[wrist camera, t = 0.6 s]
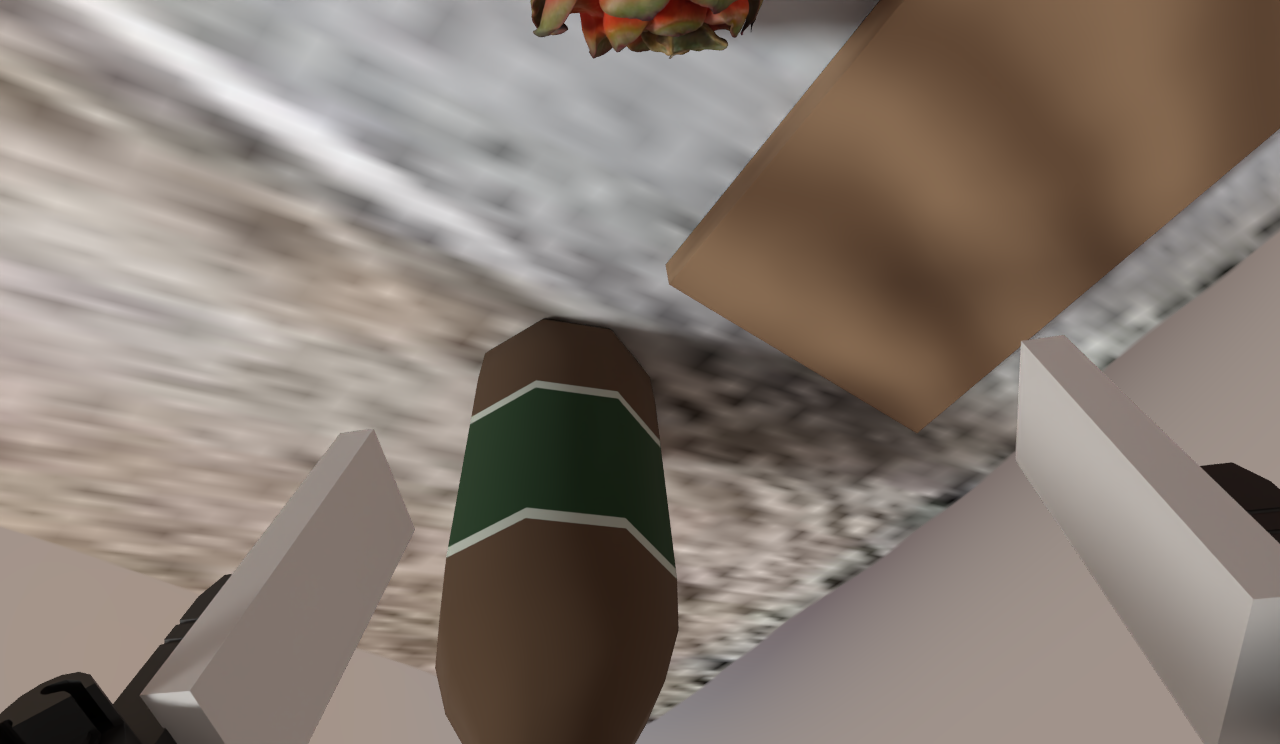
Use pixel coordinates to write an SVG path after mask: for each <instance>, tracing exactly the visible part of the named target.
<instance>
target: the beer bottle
mask: <svg viewBox="0 0 1280 744" xmlns="http://www.w3.org/2000/svg"><path fill="white" fill-rule="evenodd" d="M677 633H678V597H677V575H676V567H675V559H674V551H673V543H672V535H671V527H670V519H669V511H668V503H667V495H666V486H665V478H664V470H663V462H662V454H661V446H660V438H659V430H658V422H657V414H656V406H655V400H654V395H653V390H652V386H651V381H650V377H649V376H648V374H647V373H646V372H645V371H644V369H643V368H642V367H641V366H640V365H639V363H638V362H637V361H636V360H635V358H634V357H633V356H632V355H631V353H630V352H629V351H628V350H627V348H626V347H625V346H624V345H623V344H622V342H621V341H620V340H619V339H618V337H617V336H616V335H615V334H614V332H613V331H612V330H610V329H607V328H601V327H594V326H587V325H581V324H574V323H568V322H561V321H555V320H548V319H542V320H540V321H539V322H537V323H535V324H534V325H532V326H530V327H529V328H527V329H525V330H524V331H522V332H520V333H518V334H517V335H515V336H513V337H512V338H510V339H508V340H507V341H505V342H503V343H502V344H500V345H498V346H496V347H495V348H493V349H491V350H490V351H488V352H487V353H485V356H484V360H483V363H482V367H481V371H480V374H479V378H478V383H477V389H476V394H475V400H474V406H473V411H472V417H471V422H470V428H469V434H468V439H467V445H466V450H465V456H464V462H463V467H462V473H461V478H460V484H459V489H458V495H457V501H456V506H455V512H454V517H453V523H452V529H451V534H450V540H449V545H448V551H447V557H446V565H445V574H444V583H443V592H442V601H441V610H440V620H439V632H438V643H437V654H436V666H435V669H436V673H437V678H438V682H439V687H440V691H441V696H442V701H443V705H444V709H445V714H446V716H447V718H448V720H449V721H450V723H451V725H452V727H453V728H454V730H455V732H456V734H457V736H458V737H459V739H460V741H461V743H462V744H635V743H636V741H637V739H638V738H639V736H640V734H641V732H642V731H643V729H644V727H645V725H646V723H647V721H648V719H649V716H650V714H651V712H652V709H653V707H654V705H655V703H656V700H657V698H658V696H659V693H660V691H661V689H662V687H663V684H664V682H665V679H666V675H667V671H668V668H669V664H670V660H671V656H672V652H673V649H674V645H675V641H676V637H677Z"/></svg>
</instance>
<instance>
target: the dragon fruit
mask: <svg viewBox="0 0 1280 744" xmlns="http://www.w3.org/2000/svg"><path fill="white" fill-rule="evenodd" d="M762 2H763V0H531V8H532V21H533V23H534V24H535V26H536V28H537V29H536V30H535V31H533V33H534V34H535V35H537V36H538V37H545V36H549V35H558V34H562V33H564V32H565V31H566V30H568V27H567V26H566V25H565V24H564V22H565V21H566V19H567V17H568V16H569V14H571V13H580V17H581V24H582V31H583V33H584V37H585V40H586V43H587V45H588V47H589V49H590V51H589V53H590V54H591V56H592V57H593V58H596V57H599V56H601V55H603V54H605V53H607V52H608V51H609V50H611V49H612V47H613V48H614V50H615V51H616V52H620V51H621V50H622V49H624V48H625V47H626V46H627V47H628V48H629V49H630V50H631V51H635V52H642V51H649V50H651V51H654V52H663V53H665V54H666V55H668V56H670V58H672V57H673V56H674V55H676V54H679V55H683V54H685V53H687V52H689V51H690V50H694V51H701V50H704V49H712V50H724V49H726V48H727V46H728V43H727V41H726V40H725V39H723V38H720V37H719V36H717V35H716V33H715V32H714V31H715V30H718V29H726V30H729V31H730V33H731V35H732V37H734V38H736V37H737V35H738V33H739V32H740V30H741V28H742V26H743V24H744V22H745V19H746V22H745V24H744V26H743V29H742V31H741V35H743V31H744V30H745V29H746V28H747V27H748V26H749V25H750V24H751V31H752V26H753V23H754V22H755V20H756V16H757V14H758V11H759V9H760V7H761V5H762ZM670 58H669V59H670Z"/></svg>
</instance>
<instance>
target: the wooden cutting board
mask: <svg viewBox="0 0 1280 744" xmlns="http://www.w3.org/2000/svg"><path fill="white" fill-rule="evenodd" d="M1278 129H1280V0H880V1H879V2H878V4H877V5H876V6H875V7H874V9H873V10H872V11H871V12H870V13H869V15H868V16H867V17H866V18H865V20H864V21H863V22H862V23H861V25H860V26H859V27H858V28H857V30H856V31H855V32H854V33H853V34H852V36H851V37H850V38H849V39H848V41H847V42H846V43H845V44H844V46H843V47H842V48H841V49H840V50H839V52H838V53H837V54H836V55H835V57H834V58H833V59H832V60H831V62H830V63H829V64H828V65H827V67H826V68H825V69H824V70H823V71H822V73H821V74H820V75H819V76H818V78H817V79H816V80H815V81H814V83H813V84H812V85H811V86H810V87H809V89H808V90H807V91H806V92H805V94H804V95H803V96H802V97H801V99H800V100H799V101H798V102H797V104H796V105H795V106H794V107H793V108H792V110H791V111H790V112H789V113H788V115H787V116H786V117H785V118H784V120H783V121H782V122H781V123H780V124H779V126H778V127H777V128H776V129H775V131H774V132H773V133H772V134H771V136H770V137H769V138H768V139H767V141H766V142H765V143H764V144H763V145H762V147H761V148H760V149H759V150H758V152H757V153H756V154H755V155H754V157H753V158H752V159H751V160H750V161H749V163H748V164H747V165H746V166H745V168H744V169H743V170H742V171H741V173H740V174H739V175H738V176H737V178H736V179H735V180H734V181H733V182H732V184H731V185H730V186H729V187H728V189H727V190H726V191H725V192H724V194H723V195H722V196H721V197H720V199H719V200H718V201H717V202H716V203H715V205H714V206H713V207H712V208H711V210H710V211H709V212H708V213H707V215H706V216H705V217H704V218H703V219H702V221H701V222H700V223H699V224H698V226H697V227H696V228H695V229H694V231H693V232H692V233H691V234H690V236H689V237H688V238H687V239H686V240H685V242H684V243H683V244H682V245H681V247H680V248H679V249H678V250H677V252H676V253H675V254H674V255H673V256H672V258H671V259H670V260H669V261H668V263H667V264H666V270H667V275H668V280H669V285H671V286H673V287H674V288H676V289H678V290H679V291H681V292H683V293H684V294H686V295H688V296H689V297H691V298H693V299H694V300H696V301H698V302H699V303H701V304H703V305H704V306H706V307H708V308H709V309H711V310H713V311H714V312H716V313H718V314H719V315H721V316H723V317H724V318H726V319H728V320H729V321H731V322H733V323H734V324H736V325H738V326H739V327H741V328H743V329H744V330H746V331H748V332H749V333H751V334H753V335H754V336H756V337H758V338H759V339H761V340H763V341H764V342H766V343H768V344H769V345H771V346H773V347H774V348H776V349H778V350H779V351H781V352H783V353H784V354H786V355H788V356H789V357H791V358H792V359H794V360H796V361H797V362H799V363H801V364H802V365H804V366H806V367H807V368H809V369H811V370H812V371H814V372H816V373H817V374H819V375H821V376H822V377H824V378H826V379H827V380H829V381H831V382H832V383H834V384H836V385H837V386H839V387H841V388H842V389H844V390H846V391H847V392H849V393H851V394H852V395H854V396H856V397H857V398H859V399H861V400H862V401H864V402H866V403H867V404H869V405H871V406H872V407H874V408H876V409H877V410H879V411H881V412H882V413H884V414H886V415H887V416H889V417H891V418H892V419H894V420H896V421H897V422H899V423H901V424H902V425H904V426H906V427H907V428H909V429H911V430H912V431H914V432H916V433H918V432H919V431H920V430H922V429H923V428H924V427H925V426H926V425H927V424H929V423H930V422H931V421H932V420H933V419H935V418H936V417H937V416H938V415H939V414H941V413H942V412H943V411H944V410H945V409H946V408H948V407H949V406H950V405H951V404H952V403H954V402H955V401H956V400H957V399H958V398H960V397H961V396H962V395H963V394H964V393H966V392H967V391H968V390H969V389H970V388H971V387H973V386H974V385H975V384H976V383H977V382H979V381H980V380H981V379H982V378H983V377H985V376H986V375H987V374H988V373H989V372H991V371H992V370H993V369H994V368H995V367H996V366H998V365H999V364H1000V363H1001V362H1002V361H1004V360H1005V359H1006V358H1007V357H1008V356H1010V355H1011V354H1012V353H1013V352H1014V351H1015V350H1017V349H1018V348H1019V347H1020V346H1021V341H1024V340H1029V339H1030V338H1031V337H1032V336H1033V335H1035V334H1036V333H1037V332H1038V331H1039V330H1040V329H1042V328H1043V327H1044V326H1045V325H1046V324H1048V323H1049V322H1050V321H1051V320H1052V319H1054V318H1055V317H1056V316H1057V315H1058V314H1060V313H1061V312H1062V311H1063V310H1064V309H1065V308H1067V307H1068V306H1069V305H1070V304H1071V303H1073V302H1074V301H1075V300H1076V299H1077V298H1079V297H1080V296H1081V295H1082V294H1083V293H1084V292H1086V291H1087V290H1088V289H1089V288H1090V287H1092V286H1093V285H1094V284H1095V283H1096V282H1098V281H1099V280H1100V279H1101V278H1102V277H1104V276H1105V275H1106V274H1107V273H1108V272H1109V271H1111V270H1112V269H1113V268H1114V267H1115V266H1117V265H1118V264H1119V263H1120V262H1121V261H1123V260H1124V259H1125V258H1126V257H1127V256H1128V255H1130V254H1131V253H1132V252H1133V251H1134V250H1136V249H1137V248H1138V247H1139V246H1140V245H1142V244H1143V243H1144V242H1145V241H1146V240H1148V239H1149V238H1150V237H1151V236H1152V235H1153V234H1155V233H1156V232H1157V231H1158V230H1159V229H1161V228H1162V227H1163V226H1164V225H1165V224H1167V223H1168V222H1169V221H1170V220H1171V219H1173V218H1174V217H1175V216H1176V215H1177V214H1178V213H1180V212H1181V211H1182V210H1183V209H1184V208H1186V207H1187V206H1188V205H1189V204H1190V203H1192V202H1193V201H1194V200H1195V199H1196V198H1197V197H1199V196H1200V195H1201V194H1202V193H1203V192H1205V191H1206V190H1207V189H1208V188H1209V187H1211V186H1212V185H1213V184H1214V183H1215V182H1217V181H1218V180H1219V179H1220V178H1221V177H1222V176H1224V175H1225V174H1226V173H1227V172H1228V171H1230V170H1231V169H1232V168H1233V167H1234V166H1236V165H1237V164H1238V163H1239V162H1240V161H1241V160H1243V159H1244V158H1245V157H1246V156H1247V155H1249V154H1250V153H1251V152H1252V151H1253V150H1255V149H1256V148H1257V147H1258V146H1259V145H1261V144H1262V143H1263V142H1264V141H1265V140H1266V139H1268V138H1269V137H1270V136H1271V135H1272V134H1274V133H1275V132H1276V131H1277V130H1278Z"/></svg>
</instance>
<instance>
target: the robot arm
mask: <svg viewBox="0 0 1280 744" xmlns="http://www.w3.org/2000/svg"><path fill="white" fill-rule="evenodd" d="M1015 460H1016V462H1017V464H1018V465H1019V467H1020V468H1021V470H1022V471H1023V473H1024V474H1025V476H1026V477H1027V479H1028V480H1029V482H1030V483H1031V485H1032V486H1033V488H1034V489H1035V491H1036V492H1037V494H1038V495H1039V497H1040V498H1041V500H1042V501H1043V503H1044V504H1045V506H1046V507H1047V509H1048V510H1049V512H1050V513H1051V515H1052V516H1053V518H1054V519H1055V521H1056V522H1057V524H1058V525H1059V527H1060V528H1061V530H1062V532H1063V533H1064V535H1065V536H1066V538H1067V539H1068V540H1069V542H1070V543H1071V545H1072V547H1073V548H1074V550H1075V551H1076V552H1077V554H1078V555H1079V557H1080V559H1081V560H1082V562H1083V563H1084V565H1085V566H1086V567H1087V569H1088V570H1089V572H1090V573H1091V575H1092V577H1093V578H1094V580H1095V581H1096V583H1097V584H1098V586H1099V587H1100V589H1101V590H1102V592H1103V593H1104V595H1105V596H1106V597H1107V599H1108V601H1109V602H1110V603H1111V605H1112V607H1113V608H1114V610H1115V611H1116V613H1117V614H1118V616H1119V617H1120V619H1121V620H1122V621H1123V623H1124V625H1125V626H1126V628H1127V629H1128V631H1129V632H1130V634H1131V635H1132V637H1133V638H1134V640H1135V641H1136V643H1137V644H1138V645H1139V647H1140V649H1141V650H1142V652H1143V653H1144V655H1145V656H1146V658H1147V659H1148V661H1149V662H1150V664H1151V665H1152V667H1153V668H1154V670H1155V671H1156V673H1157V674H1158V676H1159V677H1160V679H1161V680H1162V682H1163V683H1164V685H1165V686H1166V688H1167V689H1168V691H1169V692H1170V694H1171V695H1172V697H1173V698H1174V700H1175V701H1176V703H1177V704H1178V706H1179V707H1180V709H1181V710H1182V712H1183V713H1184V715H1185V716H1186V718H1187V719H1188V721H1189V722H1190V724H1191V725H1192V727H1193V728H1194V730H1195V731H1196V733H1197V734H1198V736H1199V737H1200V739H1201V740H1202V742H1203V743H1204V744H1280V489H1279V488H1277V486H1275V485H1274V484H1273V483H1272V482H1271V481H1269V480H1267V479H1265V478H1263V477H1261V476H1259V475H1257V474H1255V473H1253V472H1251V471H1249V470H1247V469H1244V468H1242V467H1240V466H1238V465H1236V464H1234V463H1224V464H1214V465H1206V466H1199V465H1198V464H1197V463H1196V462H1195V461H1194V460H1193V459H1192V458H1191V457H1190V456H1189V455H1188V454H1186V453H1185V452H1184V451H1183V450H1182V449H1181V448H1180V447H1179V446H1178V445H1177V444H1176V443H1175V442H1174V441H1173V440H1172V439H1171V438H1170V437H1169V436H1168V435H1167V434H1166V433H1165V432H1164V431H1163V430H1162V429H1160V427H1159V426H1157V425H1156V423H1154V422H1153V421H1152V420H1151V419H1150V418H1149V417H1148V416H1147V415H1146V414H1145V413H1144V412H1143V411H1142V410H1141V409H1140V408H1139V407H1138V406H1137V405H1136V404H1135V403H1134V402H1133V401H1132V400H1131V399H1130V398H1129V397H1128V396H1127V395H1126V394H1124V393H1123V392H1122V391H1121V390H1120V389H1119V388H1118V387H1117V386H1116V385H1115V384H1114V383H1113V382H1112V381H1111V380H1110V379H1109V378H1108V377H1107V376H1106V375H1105V374H1104V373H1103V372H1102V371H1101V370H1100V369H1099V368H1098V367H1097V366H1096V365H1095V364H1094V363H1092V362H1091V361H1090V360H1089V359H1088V358H1087V357H1086V356H1085V355H1084V354H1083V353H1082V352H1081V351H1080V350H1079V349H1078V348H1077V347H1076V346H1075V345H1074V344H1073V343H1072V342H1071V341H1070V340H1069V339H1068V338H1067V337H1066V336H1065V335H1061V336H1053V337H1046V338H1038V339H1031V340H1024V341H1021V353H1020V374H1019V395H1018V416H1017V437H1016V458H1015ZM414 531H415V528H414V525H413V523H412V521H411V518H410V516H409V513H408V511H407V508H406V506H405V504H404V501H403V499H402V496H401V494H400V491H399V489H398V487H397V484H396V482H395V479H394V477H393V474H392V472H391V470H390V467H389V465H388V462H387V460H386V458H385V455H384V453H383V450H382V448H381V445H380V443H379V441H378V438H377V436H376V433H375V431H374V429H367V430H360V431H353V432H345V433H340V434H339V436H338V437H337V438H336V440H335V441H334V442H333V443H332V445H331V446H330V447H329V449H328V450H327V451H326V453H325V454H324V455H323V456H322V458H321V459H320V460H319V462H318V463H317V464H316V466H315V467H314V468H313V470H312V471H311V472H310V473H309V475H308V476H307V477H306V479H305V480H304V481H303V483H302V484H301V485H300V486H299V488H298V489H297V490H296V492H295V493H294V494H293V496H292V497H291V498H290V499H289V501H288V502H287V503H286V505H285V506H284V507H283V509H282V510H281V511H280V513H279V514H278V515H277V516H276V518H275V519H274V520H273V522H272V523H271V524H270V526H269V527H268V528H267V529H266V531H265V532H264V533H263V535H262V536H261V537H260V539H259V540H258V541H257V543H256V544H255V545H254V546H253V548H252V549H251V550H250V552H249V553H248V554H247V556H246V557H245V558H244V559H243V561H242V562H241V563H240V565H239V566H238V567H237V569H236V570H235V571H234V573H233V574H229V575H224V576H223V577H222V578H221V579H219V580H218V581H217V582H216V583H215V584H213V585H212V586H211V587H210V588H208V589H207V590H206V591H205V592H204V593H202V594H201V595H200V596H199V597H198V598H197V599H196V600H195V602H194V603H193V604H192V605H191V607H190V608H189V609H188V610H187V612H186V613H185V614H184V615H183V617H182V618H181V619H180V624H179V625H176V626H175V627H174V628H173V629H172V631H171V632H170V633H169V634H168V636H167V637H166V638H165V643H164V644H162V645H160V646H159V647H158V648H157V650H156V651H155V652H154V653H153V655H152V656H151V657H150V658H149V660H148V661H147V662H146V663H145V665H144V666H143V667H142V668H141V670H140V671H139V672H138V673H137V675H136V676H135V677H134V678H133V680H132V681H131V682H130V683H129V685H128V686H127V687H126V689H125V690H124V691H123V693H122V694H121V695H120V696H119V697H118V699H117V700H116V701H115V702H114V704H112V703H111V702H110V700H109V699H108V697H107V696H106V695H105V693H104V692H103V691H102V690H101V688H100V687H99V685H98V684H97V683H96V681H95V680H94V679H93V678H92V676H91V675H90V674H85V673H81V672H76V673H71V674H66V675H61V676H59V677H56V678H54V679H52V680H49V681H47V682H44V683H42V684H40V685H38V686H37V687H35V688H34V689H32V690H30V691H29V692H27V693H25V694H24V695H22V696H21V697H19V698H18V699H17V700H16V701H15V702H14V703H12V704H11V705H10V706H9V707H8V708H6V709H5V710H4V711H3V712H2V713H1V714H0V744H308V743H309V741H310V739H311V737H312V735H313V733H314V731H315V729H316V727H317V725H318V723H319V721H320V719H321V717H322V715H323V713H324V711H325V709H326V707H327V705H328V703H329V701H330V699H331V697H332V695H333V693H334V691H335V689H336V687H337V685H338V683H339V681H340V679H341V677H342V675H343V673H344V671H345V669H346V667H347V665H348V663H349V661H350V659H351V657H352V655H353V653H354V651H355V649H356V647H357V645H358V643H359V641H360V639H361V637H362V635H363V633H364V631H365V629H366V627H367V625H368V623H369V621H370V619H371V617H372V615H373V613H374V611H375V609H376V607H377V605H378V603H379V601H380V599H381V597H382V595H383V593H384V591H385V589H386V587H387V585H388V583H389V581H390V579H391V577H392V575H393V573H394V571H395V569H396V567H397V565H398V563H399V561H400V559H401V557H402V555H403V553H404V551H405V549H406V547H407V545H408V543H409V541H410V539H411V537H412V535H413V533H414Z"/></svg>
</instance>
